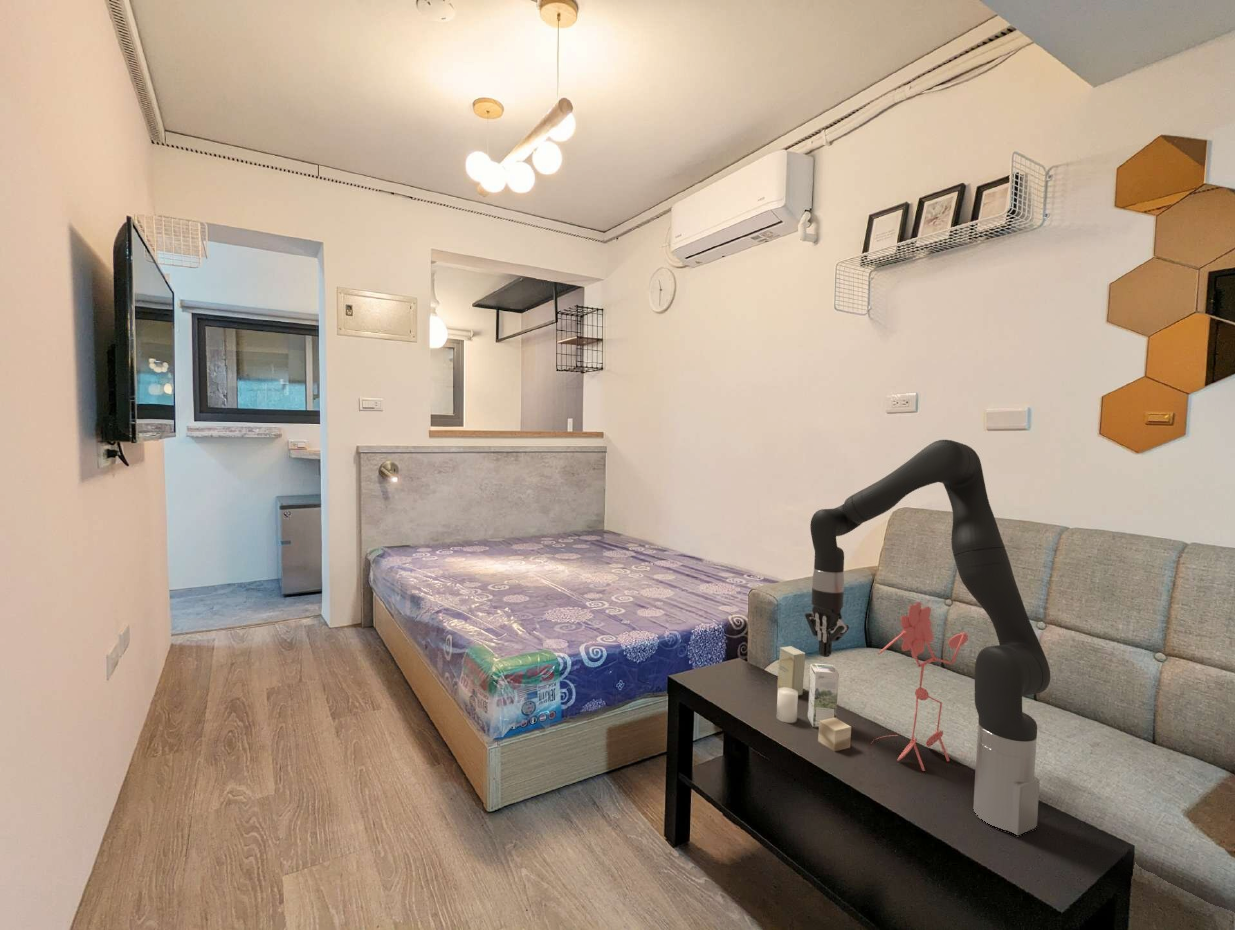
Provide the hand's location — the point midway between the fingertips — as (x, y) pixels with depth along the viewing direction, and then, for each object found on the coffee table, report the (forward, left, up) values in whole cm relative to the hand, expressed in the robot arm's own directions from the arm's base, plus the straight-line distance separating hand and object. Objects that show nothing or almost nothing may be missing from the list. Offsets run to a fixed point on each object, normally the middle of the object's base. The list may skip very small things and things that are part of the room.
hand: (824, 655), depth 145 cm
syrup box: (0, 0, -18) cm, 18 cm away
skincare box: (+18, -6, -18) cm, 26 cm away
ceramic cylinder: (+6, +6, -17) cm, 19 cm away
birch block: (-9, +5, -18) cm, 20 cm away
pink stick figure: (-18, -9, -18) cm, 27 cm away
